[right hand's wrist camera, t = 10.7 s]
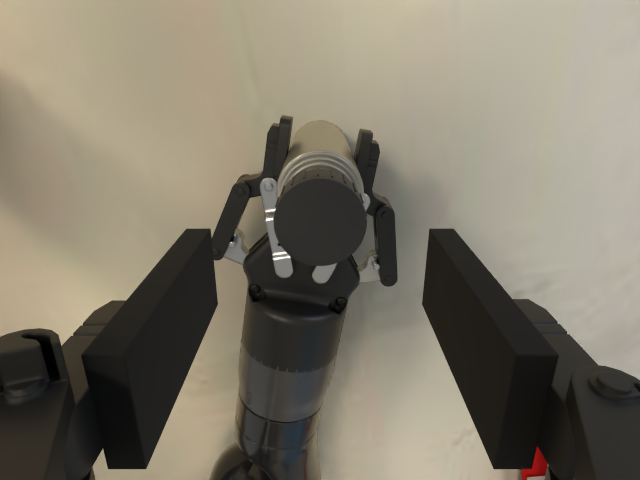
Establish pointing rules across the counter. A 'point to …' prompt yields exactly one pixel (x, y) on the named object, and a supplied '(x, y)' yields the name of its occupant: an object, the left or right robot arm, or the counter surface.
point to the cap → (320, 217)
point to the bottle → (319, 154)
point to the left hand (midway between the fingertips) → (326, 125)
